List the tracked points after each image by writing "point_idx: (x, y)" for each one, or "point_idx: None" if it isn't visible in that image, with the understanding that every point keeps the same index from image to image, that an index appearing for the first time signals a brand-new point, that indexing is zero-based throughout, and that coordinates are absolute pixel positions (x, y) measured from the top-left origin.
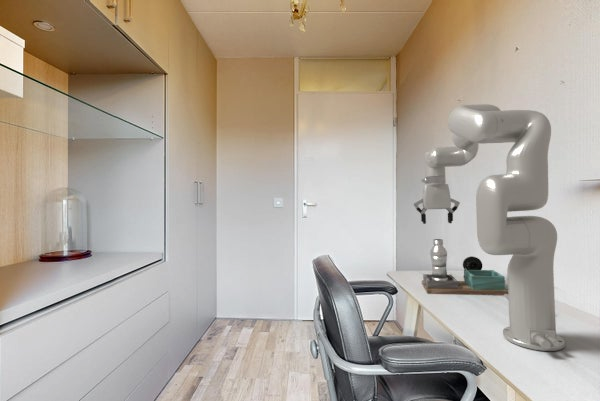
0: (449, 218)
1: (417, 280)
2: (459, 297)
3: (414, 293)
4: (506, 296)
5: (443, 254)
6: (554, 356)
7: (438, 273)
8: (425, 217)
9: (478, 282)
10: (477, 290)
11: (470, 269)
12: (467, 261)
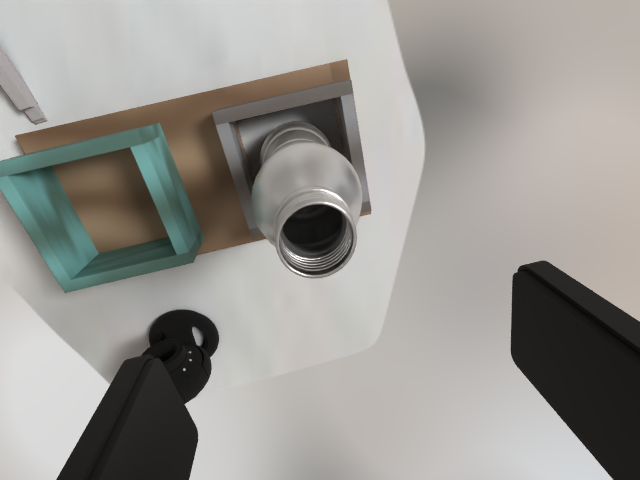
0: (129, 420)
1: (384, 255)
2: (211, 38)
3: (397, 46)
4: (21, 85)
5: (272, 155)
6: None
7: (303, 134)
8: (600, 333)
9: (122, 132)
10: (138, 112)
11: (180, 341)
12: (185, 376)
